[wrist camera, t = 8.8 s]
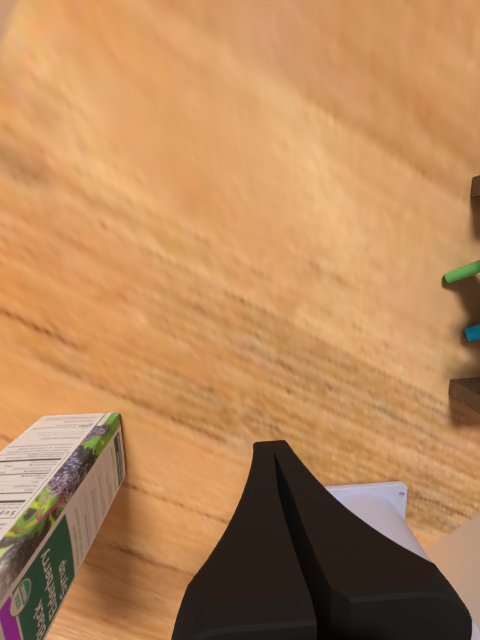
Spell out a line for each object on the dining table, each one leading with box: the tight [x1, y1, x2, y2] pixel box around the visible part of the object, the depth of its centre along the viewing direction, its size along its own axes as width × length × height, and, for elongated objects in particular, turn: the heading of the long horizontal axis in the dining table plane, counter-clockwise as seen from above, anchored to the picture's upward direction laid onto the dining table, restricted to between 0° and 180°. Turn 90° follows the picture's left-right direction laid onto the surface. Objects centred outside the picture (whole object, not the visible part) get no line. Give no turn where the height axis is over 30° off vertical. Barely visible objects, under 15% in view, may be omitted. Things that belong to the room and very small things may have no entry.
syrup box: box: [0, 412, 126, 640], centre depth 15 cm, size 6×6×14 cm
